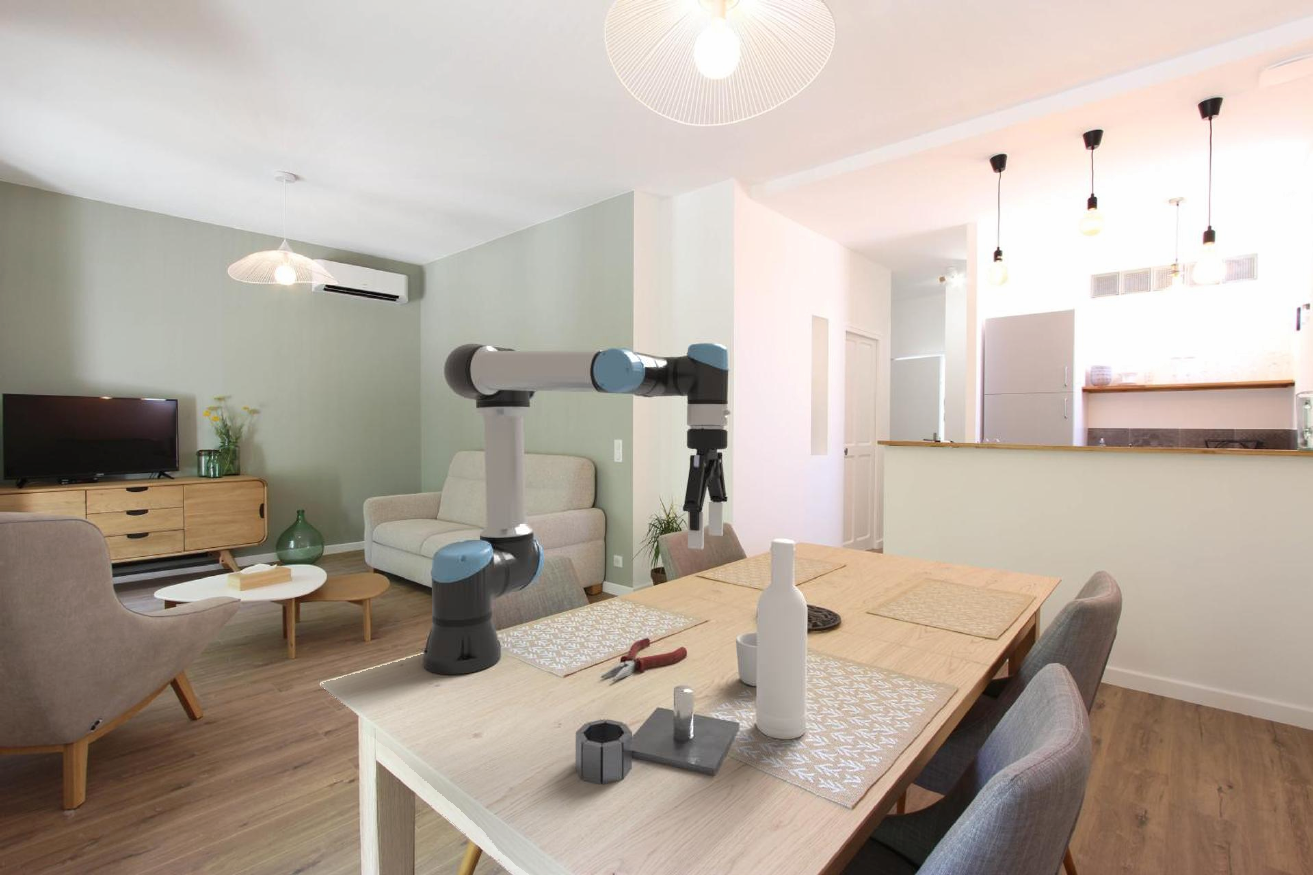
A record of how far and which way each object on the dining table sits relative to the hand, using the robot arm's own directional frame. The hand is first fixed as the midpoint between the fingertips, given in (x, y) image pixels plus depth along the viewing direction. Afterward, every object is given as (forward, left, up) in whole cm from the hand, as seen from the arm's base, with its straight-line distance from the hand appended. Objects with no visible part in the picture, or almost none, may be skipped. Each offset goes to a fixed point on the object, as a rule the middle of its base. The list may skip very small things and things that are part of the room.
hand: (706, 541), depth 115 cm
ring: (-5, -33, -26) cm, 43 cm away
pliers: (-16, +4, -27) cm, 32 cm away
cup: (+10, +4, -27) cm, 29 cm away
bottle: (+16, -12, -27) cm, 34 cm away
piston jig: (+3, -22, -26) cm, 35 cm away
